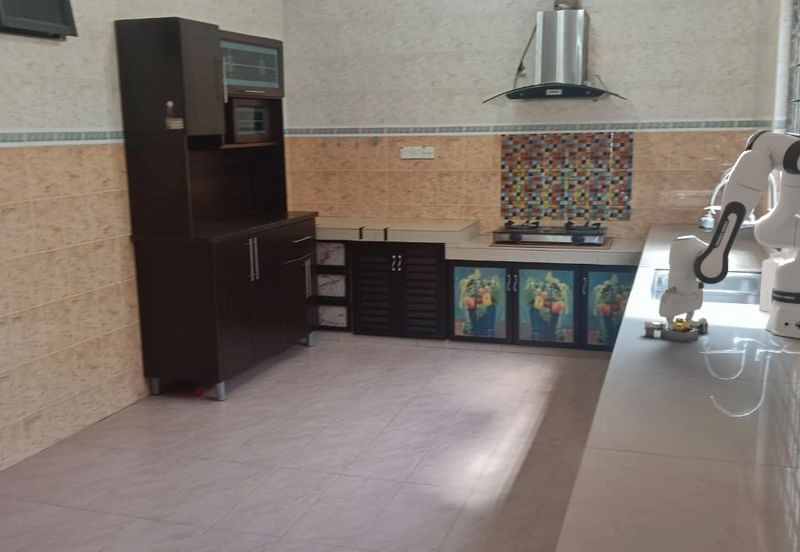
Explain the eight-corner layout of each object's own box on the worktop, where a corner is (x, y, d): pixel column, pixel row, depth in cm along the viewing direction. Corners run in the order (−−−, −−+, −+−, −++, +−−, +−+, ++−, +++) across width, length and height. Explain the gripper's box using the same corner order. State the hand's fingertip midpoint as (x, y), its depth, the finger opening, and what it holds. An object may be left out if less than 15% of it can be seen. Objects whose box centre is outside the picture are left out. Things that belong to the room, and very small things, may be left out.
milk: (783, 311, 302) (788, 253, 298) (772, 313, 299) (777, 254, 295) (768, 308, 307) (773, 251, 303) (758, 310, 304) (763, 252, 300)
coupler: (688, 335, 266) (689, 319, 265) (680, 337, 264) (681, 321, 263) (676, 332, 270) (677, 316, 269) (668, 335, 267) (669, 318, 266)
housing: (697, 338, 266) (698, 329, 265) (683, 342, 261) (683, 333, 260) (674, 333, 273) (675, 324, 272) (660, 337, 267) (660, 328, 267)
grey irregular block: (697, 329, 277) (698, 315, 276) (708, 331, 274) (709, 317, 273) (684, 333, 272) (685, 319, 271) (695, 335, 269) (696, 321, 268)
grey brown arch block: (664, 334, 271) (665, 320, 270) (664, 337, 267) (665, 323, 266) (644, 333, 272) (644, 319, 271) (644, 336, 268) (645, 322, 268)
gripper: (672, 291, 254) (670, 333, 257) (707, 282, 267) (705, 323, 270) (655, 288, 259) (653, 330, 262) (690, 279, 272) (688, 319, 275)
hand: (679, 326), depth 266 cm, fingers open, 8 cm apart
